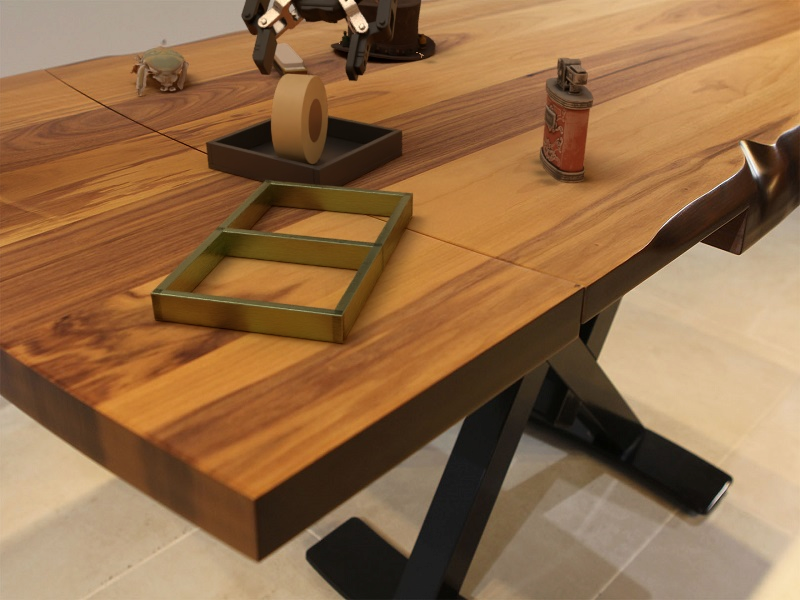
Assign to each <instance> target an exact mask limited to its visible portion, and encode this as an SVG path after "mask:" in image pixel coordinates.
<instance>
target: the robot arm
mask: <svg viewBox="0 0 800 600" xmlns="http://www.w3.org/2000/svg"><path fill="white" fill-rule="evenodd" d="M362 1H363V0H274V1H273V4H272V7H270V2H271V0H245V1H244V6H243V8H242V11H241V14H240V16H241V19H242V21H243V23H244V24H245V26H246V28H247V30H248V32H249V34H250V35H252V36H256V38H255V43H254V47H253V51H252V61H253V63H254V64H255V66H256V68H257V69H258V71H259V73H260V74H261V75H263V76H270V75H271V74H272V69H273V66H274V65H273V61H274V56H275V52H276V48H277V44H278V41H277V40H278V39H279V38H280V37H281V36H282V35H283V34H284V33H285V32H286V31H288V30H293V29H295V28H296V27H297V26H298V25H299V24H300V23H301V22H303V20H305V23H317V22H325V23H328V24H338V22H339V21H342V20H344V21H345V22H346V24H347V26H348V25H349V27H350V29H351V30H352V32H353V33H354V34H352V37H351V42H350V47H349V51H348V52H347V57H346V62H345V66H344V67H345V68H344V70H345V74H346V76H347V79H348V81H349V82H358V80H359V76H364V74H365V73H366V70H367V66H368V60H369V57H370V56H369V51H370V47H371V45H372V44H374V43H375V42H379V41H382V42H384V43H388V42H390V41H391V40H392V39H393V33H394V25H395V16H396V8H397V0H376V2H378V9H377V16H376V21H375V22H371V23H367V22H366V20H365V18H364V17H363V15H362V14H361V12H360V10H359V8H358V5H359V4H360V3H361V2H362ZM291 6H293V8H294V9H293V10H291V11H290V7H291ZM269 7H270V9H269Z"/></svg>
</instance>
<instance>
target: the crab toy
mask: <svg viewBox="0 0 800 600" xmlns="http://www.w3.org/2000/svg"><path fill="white" fill-rule="evenodd" d="M133 61H137V63H135V64H134V65H133V66H132V69H131V71H130V72H129V73H130V74H131V75H132V74H135V75H136V82H135V84H136V86H135V90H136V91H137V92H136V96H140V97H143V92H144V91H145V89H146V87H147V75H148V74H155V75H153V76H152V78H153V79H155V80H156V81H157V82H159V83H160V86H161V87H160V88H159V90H160V91H162V92H165V91H170V92H173V91H176V87H174V86H173V83H175V82H176V81H177V85H176V86H177V87H178V88H179V89H180V90H183V89H184V83H185V80H186V77H187V72H188V69H189V66H190V65H191V64H190V63H189V62H187V60H186V58H185V57H184V56H183V55H182V54H180V53H179V52H178V51H175V50H173V49H170V48H168V47H164V46H162V45H158V46H156V47H153V48H149V49H147V50H145V51H144V53H143V54H142V56H141V57H140V56H139V55H135V57H134V58H133ZM179 72H180V74H179V78H178V73H179ZM169 87H170V88H169Z"/></svg>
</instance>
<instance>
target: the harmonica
mask: <svg viewBox="0 0 800 600" xmlns="http://www.w3.org/2000/svg"><path fill="white" fill-rule="evenodd" d="M272 66H273V67H274V68H275V70H276V72H278V74H279V75H280V76H281V77H282V76H284V75H285V74H300V75H309V74H308V69H307V68H306V67H305V66H304V60H303V58H301V56H300V55H299V54H298V53H297V52H296V51H295V50H294V48H293V47H291V45H290V44H289V43H287V42H280V43H279V42H277V48H276V52H275V56H274V61H273V65H272Z"/></svg>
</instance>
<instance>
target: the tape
mask: <svg viewBox="0 0 800 600" xmlns="http://www.w3.org/2000/svg"><path fill="white" fill-rule="evenodd" d="M327 95H328V94H327V89H326V87H325V83H324V81H323V79H322V78H321V77H320V76H319V75H316V74H315V75H313V74H308V75H300V74H285V75H284V76H281V78H280V79H279V80H278V83H277V85H276V88H275V91H274V94H273V97H272V105H271V117H270V118H271V132H272V141H273V146H274V149H275V152H276V155H277V157H280V158H284V159H288V160H292V161H296V162H300V163H305V164H315V163H316V162H317V161H318V160H319V158H320V156H321V154H322V151H323V148H324V144H325V140H326V134H327V125H328V115H329V104H328V96H327Z"/></svg>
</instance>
